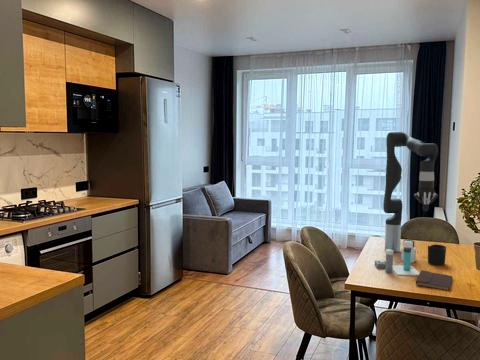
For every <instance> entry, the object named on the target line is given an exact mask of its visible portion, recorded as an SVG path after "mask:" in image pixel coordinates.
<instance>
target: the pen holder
mask: <svg viewBox="0 0 480 360" xmlns="http://www.w3.org/2000/svg"><path fill="white" fill-rule="evenodd" d="M446 252H447V245H446V246H445V245H442V244H435V243H434V244H431V245H430V246H429V245H427V264H429V265H433V266H444V265H445V264H446V255H447V254H446Z"/></svg>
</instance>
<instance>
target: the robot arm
mask: <svg viewBox="0 0 480 360" xmlns="http://www.w3.org/2000/svg"><path fill="white" fill-rule="evenodd" d="M385 144H386V145H385V146H386V163H385V164H386V168H385V186H384V189H385V190H384V197H383V203H382V207H383V208H382V209H383V212H384V213H385V214H393V215H392V216H390V217H387V218H386V219H385V232H384V235H385V236H384V250H385V251H386V249H391V250H393V253H401V238H402V235H401V231H402V218H403V216H402V215H403V201H402V199H400V198H392V195H393V192H394V190H395V189H396V187H398V185H399V183H400V182H401V180H402V170H403V169H402V165H401V163H400V161H399V160H398V159H397V158H398V157H397V156H396V150H395V148H401V147H406V148H407V149H408V150H409V151H411V152H414V153H416V154H417V155H418V156H420V157H427V158H426V159H424V160H421V161H420V163H419V164H420V165H419V176H418V177H419V178H418V179H419V180H418V181H419V182H418V190H417V192H416V193H414V194H413V196H414V197H415V199H416V200H417V202H419V203H420V204H422V211H424V212H428V211H429V210H430V205H431V204H433V203H434V202H435V201H436V200H437V198H438V197H439V194H437V193H436V192H435V163H436V159H437V157H438V154H439V147H438V144H436V143H426V142H424V141H422V140H420V139H416V138H414V137H411V136H410V135H409V134H407V133H405V132H403V131H390V132H389V131H388V133H387V134H386V141H385ZM420 197H421V198H420Z"/></svg>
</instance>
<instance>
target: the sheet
mask: <svg viewBox="0 0 480 360" xmlns="http://www.w3.org/2000/svg"><path fill="white" fill-rule="evenodd" d="M393 272H394V273H395V274H396V275H397V276H404V277H405V276H406V277H407V276H411V277H412V276H414V277H418V276H419V274H420V271H418V270H417V269H416V268H415V267H414V266H412V265H411V266H410V271H405V270H403V265H393Z"/></svg>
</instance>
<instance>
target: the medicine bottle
mask: <svg viewBox="0 0 480 360" xmlns="http://www.w3.org/2000/svg"><path fill="white" fill-rule="evenodd" d="M402 244H403V245H402V248H400V262H403V258H404V247H410V248H411V264H413V263H415V262H416V260H417V259H416V258H417V248H416V247H415V241H414V240H412V239H404V240H403V243H402Z"/></svg>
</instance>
